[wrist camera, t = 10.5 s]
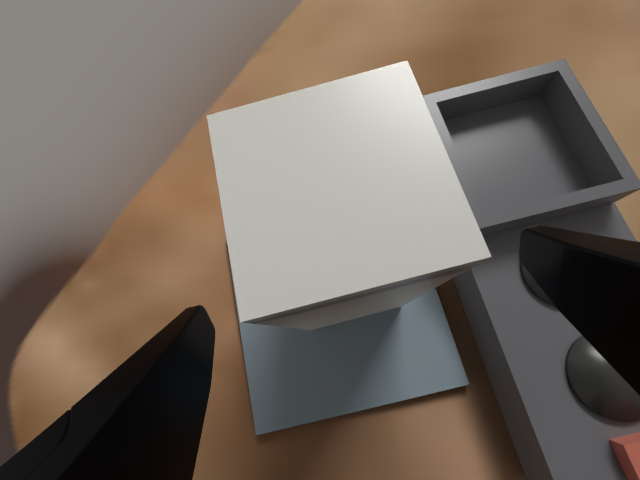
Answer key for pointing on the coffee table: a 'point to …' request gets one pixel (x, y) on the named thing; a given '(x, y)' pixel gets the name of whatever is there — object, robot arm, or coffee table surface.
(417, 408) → the coffee table surface
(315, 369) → the rubber pad
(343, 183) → the block
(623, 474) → the power strip
